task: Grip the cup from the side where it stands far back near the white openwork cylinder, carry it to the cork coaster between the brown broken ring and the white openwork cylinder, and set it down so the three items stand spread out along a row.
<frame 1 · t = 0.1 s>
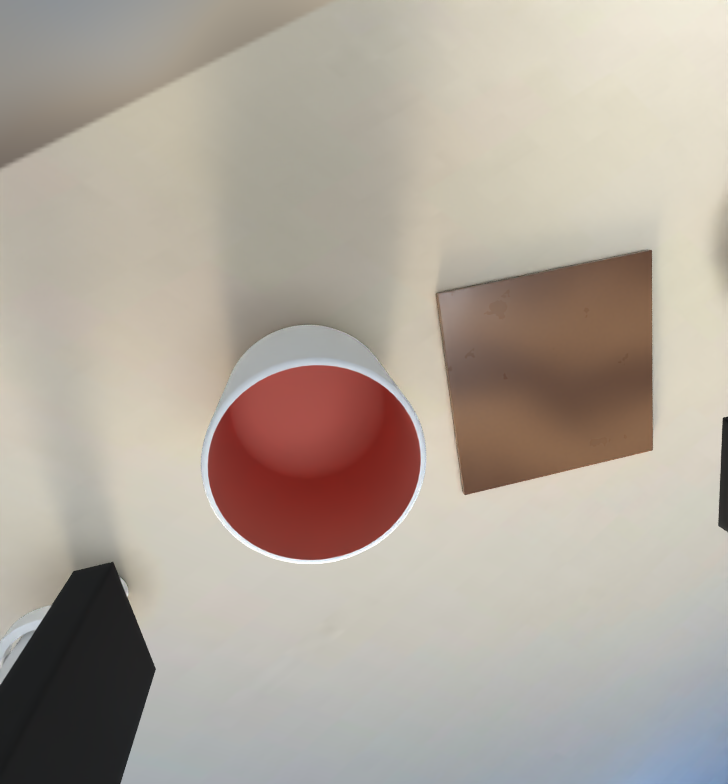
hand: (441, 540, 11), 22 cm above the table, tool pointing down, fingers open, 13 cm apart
white openwork cylinder: (105, 589, 34), on the table
cup: (308, 399, 32), on the table
coaster: (551, 376, 34), on the table
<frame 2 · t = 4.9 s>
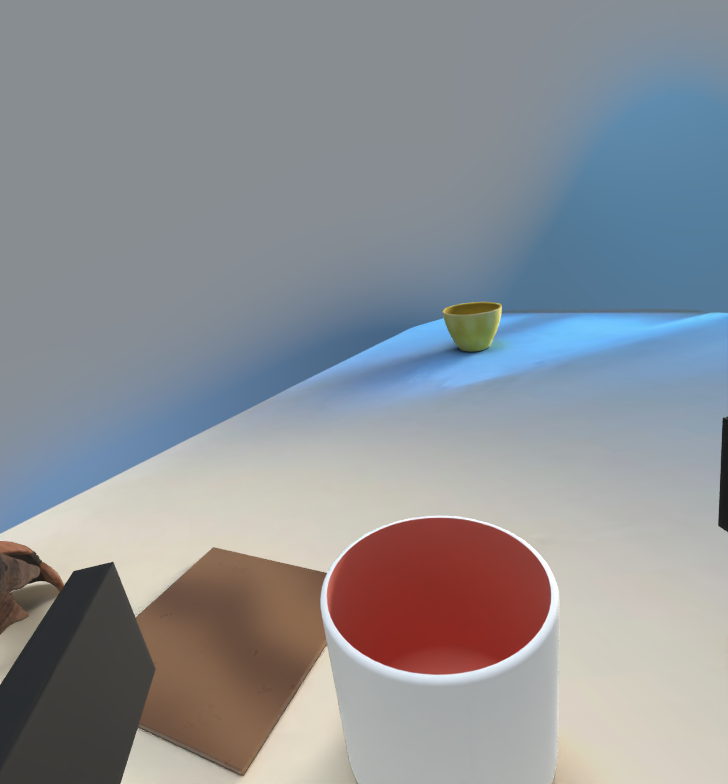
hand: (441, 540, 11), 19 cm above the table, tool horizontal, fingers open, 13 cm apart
flower pot: (473, 348, 91), on the table
cup: (450, 747, 25), on the table
coaster: (224, 634, 34), on the table
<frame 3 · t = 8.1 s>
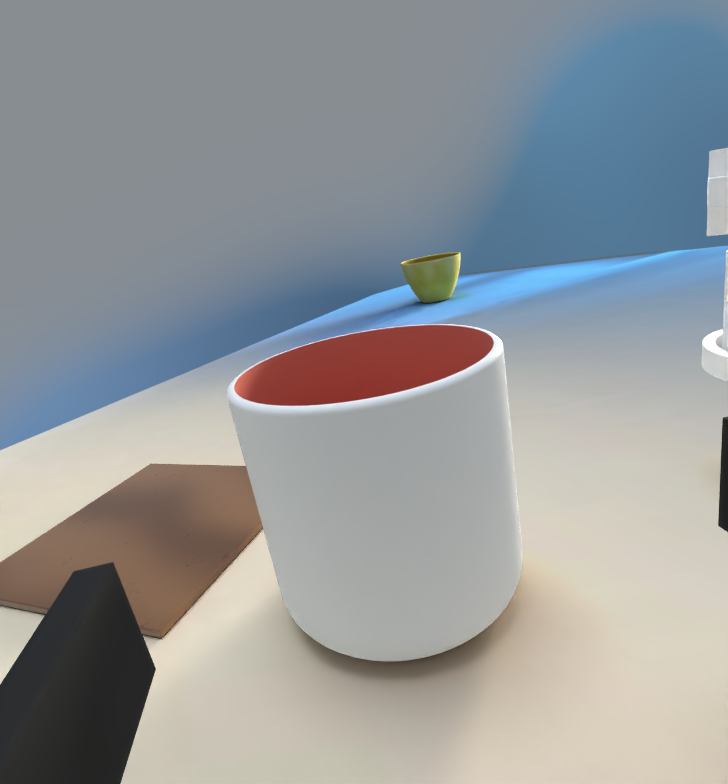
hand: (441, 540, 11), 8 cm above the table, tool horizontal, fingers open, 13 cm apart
flower pot: (435, 300, 89), on the table
cup: (403, 585, 22), on the table
coaster: (155, 528, 30), on the table
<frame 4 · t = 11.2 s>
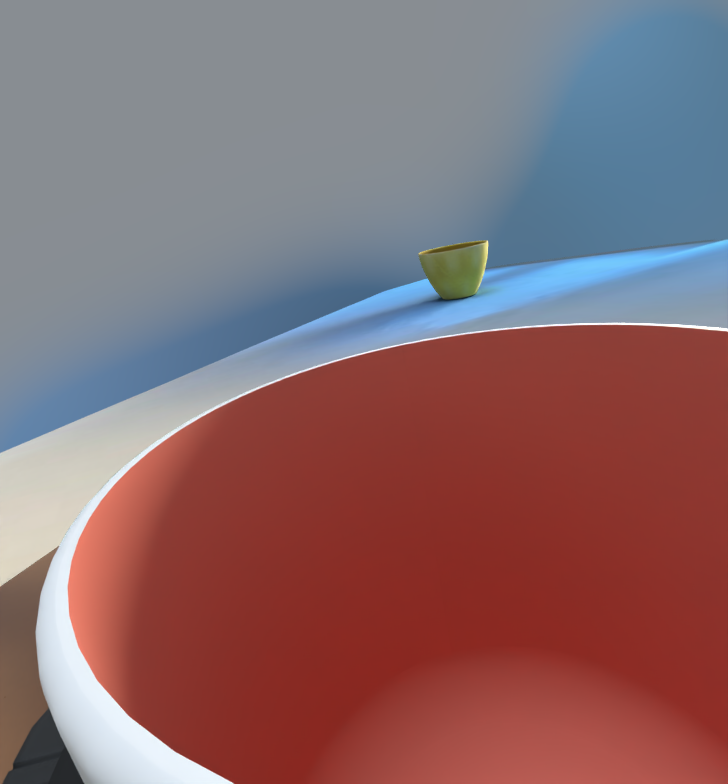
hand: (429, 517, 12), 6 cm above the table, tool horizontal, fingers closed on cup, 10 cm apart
flower pot: (458, 297, 76), on the table
coaster: (56, 669, 18), on the table
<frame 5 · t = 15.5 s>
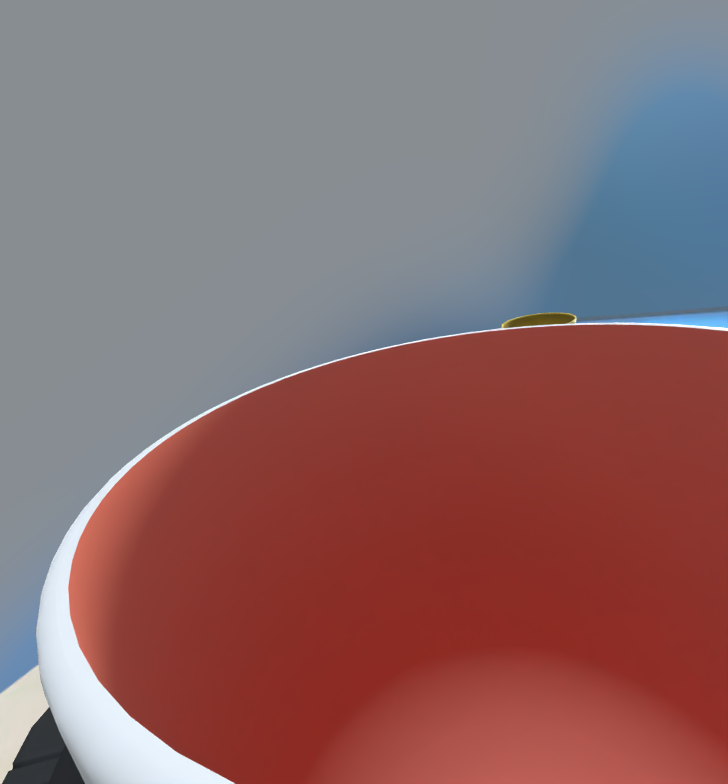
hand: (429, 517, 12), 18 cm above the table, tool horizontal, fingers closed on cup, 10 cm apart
flower pot: (541, 370, 74), on the table
when the fingers open (6 cm above the table, at t = 19.9 s): cup stays where it is, resting on coaster.
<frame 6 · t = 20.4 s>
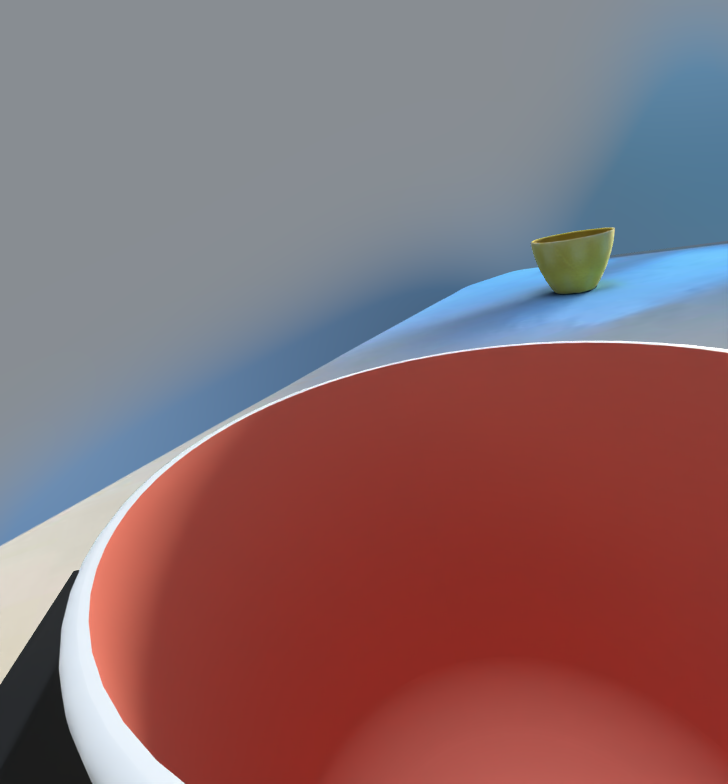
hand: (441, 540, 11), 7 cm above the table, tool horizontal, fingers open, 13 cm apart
flower pot: (574, 291, 68), on the table
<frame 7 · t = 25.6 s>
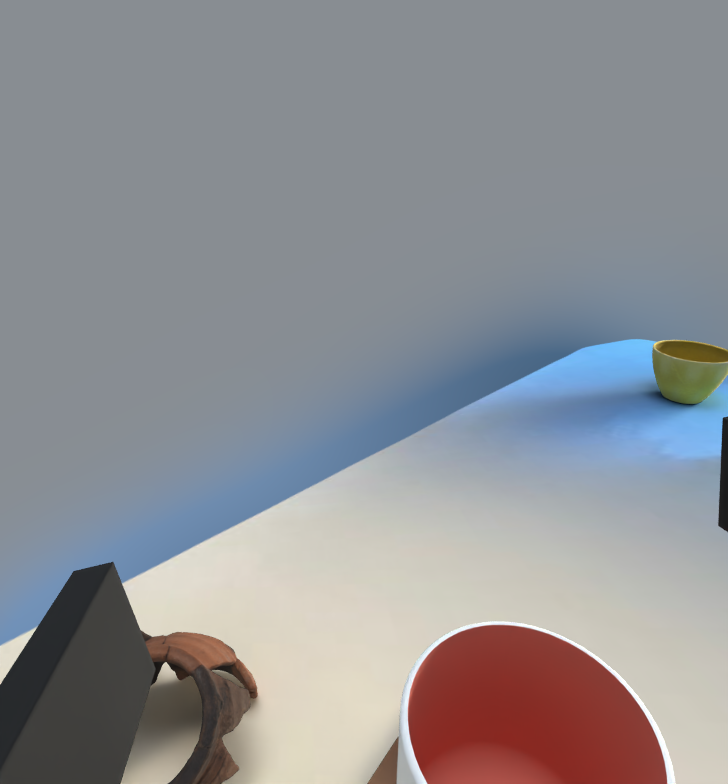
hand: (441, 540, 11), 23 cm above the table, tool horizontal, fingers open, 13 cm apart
flower pot: (680, 398, 75), on the table
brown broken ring: (171, 737, 30), on the table
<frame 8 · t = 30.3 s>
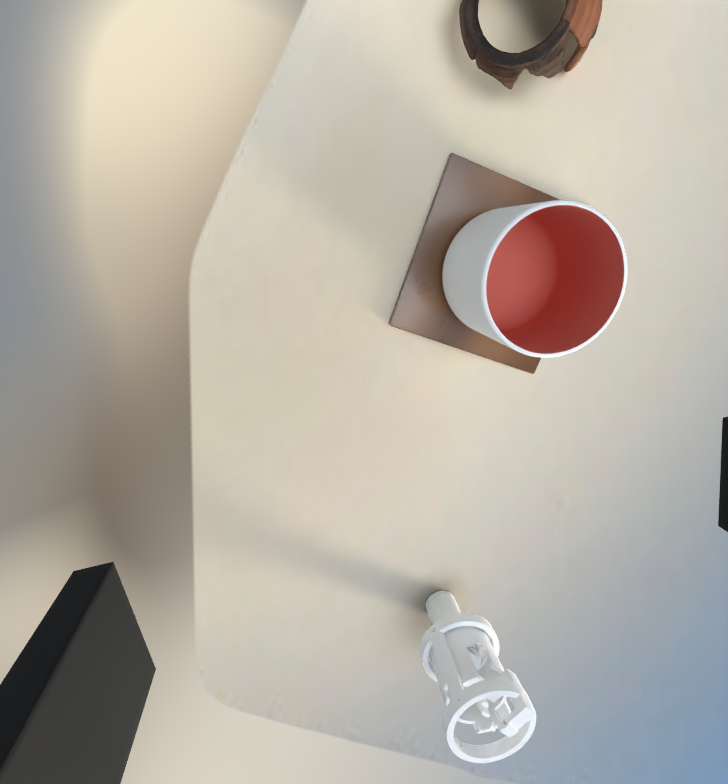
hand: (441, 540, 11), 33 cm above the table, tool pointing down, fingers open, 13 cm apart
white openwork cylinder: (439, 602, 52), on the table
cup: (495, 272, 43), resting on coaster
coaster: (494, 271, 43), on the table
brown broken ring: (524, 14, 38), on the table
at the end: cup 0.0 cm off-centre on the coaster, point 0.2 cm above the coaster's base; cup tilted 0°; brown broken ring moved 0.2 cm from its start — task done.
